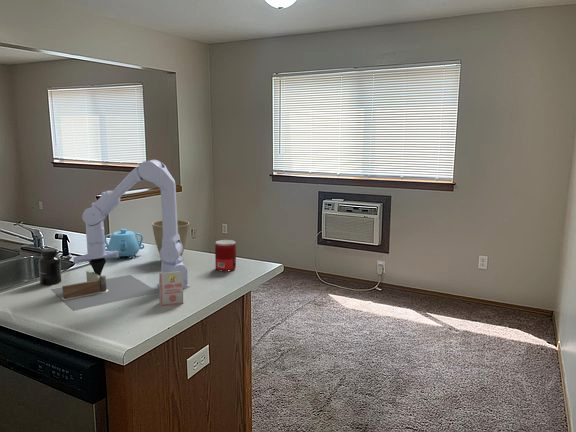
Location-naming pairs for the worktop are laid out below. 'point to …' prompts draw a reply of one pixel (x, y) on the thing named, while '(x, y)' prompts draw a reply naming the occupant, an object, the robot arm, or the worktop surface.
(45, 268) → the supplement bottle
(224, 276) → the worktop surface
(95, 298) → the card
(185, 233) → the plant pot
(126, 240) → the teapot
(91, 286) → the walnut fence section
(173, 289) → the pink white carton
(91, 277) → the sage fence panel
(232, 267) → the canned food
